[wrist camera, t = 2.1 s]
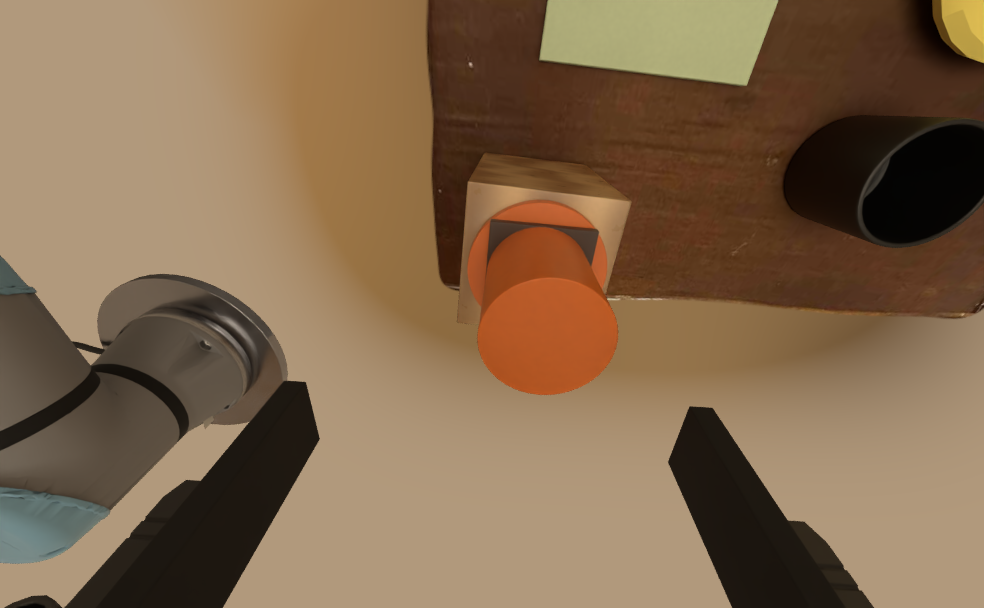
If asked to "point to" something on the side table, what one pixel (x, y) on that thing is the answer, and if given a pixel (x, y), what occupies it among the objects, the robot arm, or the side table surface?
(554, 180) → the block
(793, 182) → the mug
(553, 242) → the hat
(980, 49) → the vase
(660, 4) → the mat
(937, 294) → the side table surface
